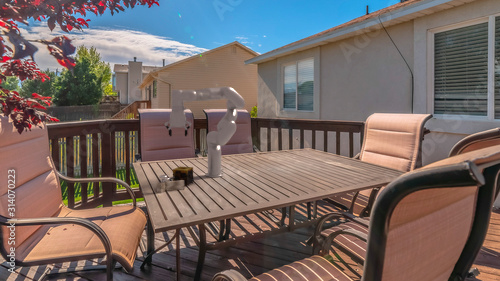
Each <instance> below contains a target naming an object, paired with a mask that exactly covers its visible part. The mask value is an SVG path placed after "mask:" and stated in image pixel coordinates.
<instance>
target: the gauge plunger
mask: <svg viewBox="0 0 500 281" xmlns="http://www.w3.org/2000/svg"><path fill="white" fill-rule="evenodd" d="M158 177H159V178H160V179H162V178H163V180H161V183H162V182H165V181H166V182H167V181H172V180H173V179H174V178H175V177H174V176H173V175H172V176H171V177H170V176H169V177H168V175H167V174H161V175H159V176H158ZM164 178H165V179H164Z"/></svg>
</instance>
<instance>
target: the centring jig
mask: <svg viewBox="0 0 500 281" xmlns="http://www.w3.org/2000/svg"><path fill="white" fill-rule="evenodd" d="M161 179H162V180H163V178H161ZM164 179H166V178H164ZM162 180H161V182H158V183H157V184H156V192H157V193H160V194H162V193H165V192H166V191H178V190H179V191H180V190H185V186H184V180H181V181H173V180H168V181H165V182H162Z"/></svg>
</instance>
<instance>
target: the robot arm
mask: <svg viewBox="0 0 500 281" xmlns="http://www.w3.org/2000/svg"><path fill="white" fill-rule="evenodd" d="M170 94H171V95H170V96H171V98H170V100H171V111H170V114H169V120H168V121H166V122H164V123H163V124H164V127H165V128H166V129H167V131H168V135H169V137H172V135H173V134H172V133H173V132H172V129H173V128H184V136H185V137H187V136H188V135H189V134H188V133H189V132H188V130H189V129H190V128H191V126H192V125H193V123H192V122H190V121H188V120H187V114H186V111H185V110H187V108H186V107H185V105H184V104H185V102H186V103H187V102H188V103H189V102H197V101H198V102H199V101H200V102H201V101H202V102H207V101H217V100H218V101H219V100H226V102H225V103H226V105H225V106H226V113H225V115H223V117H222V118H221V119H220V120H219V122H218V123H217V125H216V128H217V130H212V131H209V132H208V133H207V135H206V145H207V172H206V173H205V176H206V177H209V178H220V177H223V176H224V172H222V171H224V167H222V148H221V147H222V146H223V147H224V146H225V145H226V144H227V143H228V142H229V141H230V140H231V138H232V137H233V135H234V134H235V133H236V130H237V123H236V121H237V118H238V110H242V109H244V108H245V106H246V101H245V99H244V97H243V96H242V95H241V94H240V93H238V92H237V91H236V90H235V89H234V88H232V87H231V86H220V87H219V86H218V87H206V88H205V87H204V88H198V89H185V90H183V89H171V93H170ZM168 124H169V125H168ZM187 125H188V126H187Z"/></svg>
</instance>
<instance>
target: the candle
mask: <svg viewBox="0 0 500 281" xmlns="http://www.w3.org/2000/svg"><path fill="white" fill-rule="evenodd" d="M173 176H174V177H175V178H174V179H172V181H181V180H184V187H188V186H190V185H191V184H193V183H194V179H195V178H194V167H193V166H177V167H176V168H172V177H173Z"/></svg>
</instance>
